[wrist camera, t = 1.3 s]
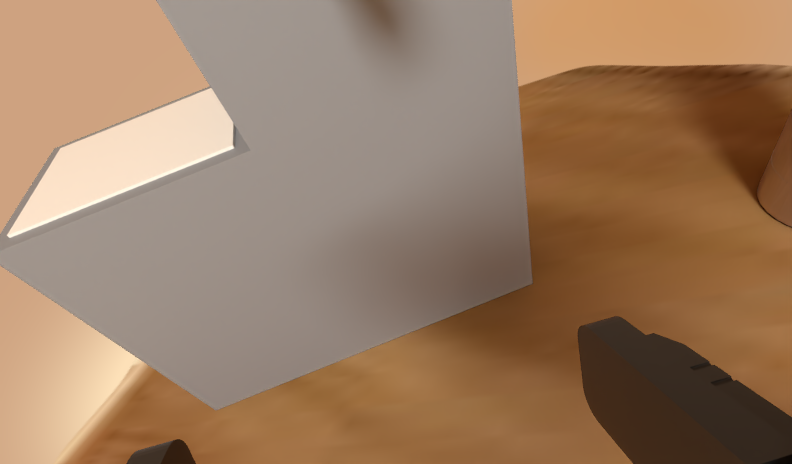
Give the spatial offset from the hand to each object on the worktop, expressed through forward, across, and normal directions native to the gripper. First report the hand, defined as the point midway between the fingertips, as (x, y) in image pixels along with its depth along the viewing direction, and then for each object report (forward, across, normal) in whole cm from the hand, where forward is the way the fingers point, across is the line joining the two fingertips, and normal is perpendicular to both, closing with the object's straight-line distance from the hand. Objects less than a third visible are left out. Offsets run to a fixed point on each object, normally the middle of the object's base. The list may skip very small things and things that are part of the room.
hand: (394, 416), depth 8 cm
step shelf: (+34, +2, +13) cm, 36 cm away
